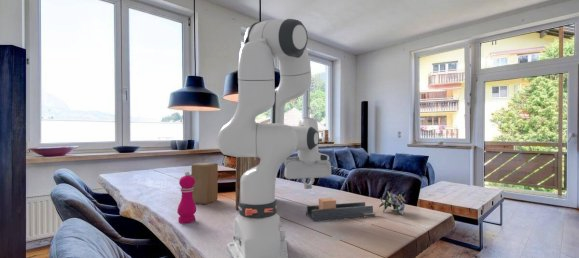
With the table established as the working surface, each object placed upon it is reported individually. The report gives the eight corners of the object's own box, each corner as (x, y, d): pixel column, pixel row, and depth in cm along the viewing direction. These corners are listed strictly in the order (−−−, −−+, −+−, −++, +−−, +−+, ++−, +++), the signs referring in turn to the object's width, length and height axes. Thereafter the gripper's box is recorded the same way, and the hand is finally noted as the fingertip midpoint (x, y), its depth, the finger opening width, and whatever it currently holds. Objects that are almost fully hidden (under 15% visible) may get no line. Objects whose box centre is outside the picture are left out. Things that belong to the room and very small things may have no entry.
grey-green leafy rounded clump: (401, 227, 116) (406, 209, 109) (375, 219, 120) (379, 202, 113) (403, 207, 124) (408, 190, 117) (379, 201, 128) (382, 183, 121)
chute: (313, 221, 107) (313, 211, 107) (306, 214, 116) (306, 205, 116) (374, 216, 114) (374, 206, 114) (362, 209, 123) (362, 201, 123)
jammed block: (322, 215, 110) (322, 201, 110) (318, 212, 115) (318, 198, 115) (336, 214, 112) (336, 200, 112) (331, 211, 117) (331, 197, 117)
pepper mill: (190, 216, 112) (190, 170, 112) (199, 220, 107) (200, 171, 108) (173, 221, 106) (174, 171, 107) (183, 225, 102) (183, 173, 102)
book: (253, 211, 120) (254, 146, 121) (235, 209, 123) (235, 145, 123) (271, 198, 145) (271, 143, 145) (255, 197, 147) (255, 143, 148)
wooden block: (190, 203, 134) (190, 164, 134) (202, 198, 143) (202, 162, 144) (207, 204, 131) (207, 164, 131) (218, 200, 141) (218, 162, 141)
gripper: (285, 157, 106) (285, 191, 106) (332, 156, 111) (332, 188, 111) (282, 155, 112) (282, 188, 113) (327, 154, 117) (327, 185, 117)
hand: (307, 188), depth 112 cm, fingers closed
